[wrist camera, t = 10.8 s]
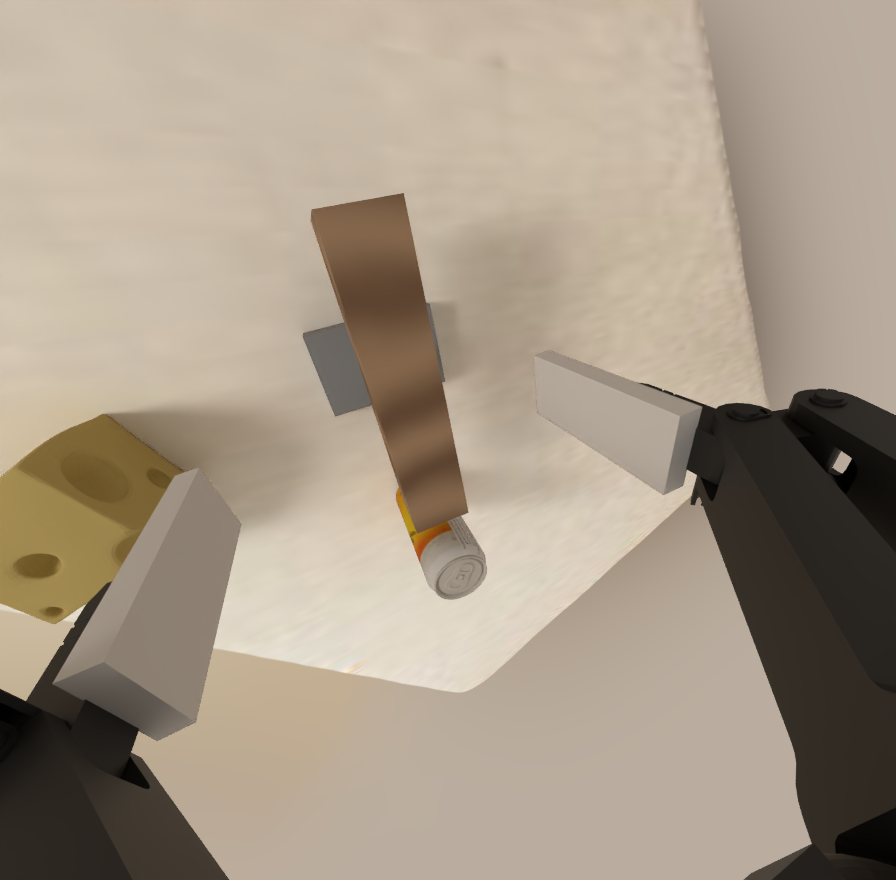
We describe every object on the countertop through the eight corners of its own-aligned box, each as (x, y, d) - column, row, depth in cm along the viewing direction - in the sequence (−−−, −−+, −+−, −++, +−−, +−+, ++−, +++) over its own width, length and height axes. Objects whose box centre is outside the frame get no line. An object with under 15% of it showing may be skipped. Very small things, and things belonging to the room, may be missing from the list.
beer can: (387, 505, 43) (420, 602, 31) (405, 465, 41) (448, 550, 29) (428, 512, 46) (473, 603, 34) (446, 475, 44) (501, 556, 32)
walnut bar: (310, 220, 21) (311, 209, 17) (385, 206, 22) (403, 193, 18) (403, 500, 34) (417, 533, 30) (449, 483, 35) (468, 512, 31)
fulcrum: (303, 333, 31) (301, 351, 25) (423, 302, 34) (451, 310, 27) (333, 409, 35) (340, 442, 29) (439, 376, 38) (467, 399, 31)
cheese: (206, 482, 34) (173, 552, 26) (113, 543, 33) (48, 635, 25) (101, 404, 28) (16, 461, 20) (-13, 476, 28) (-150, 567, 19)
